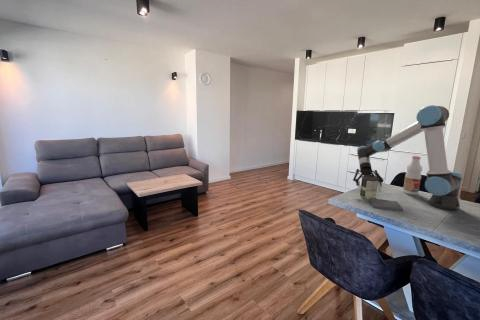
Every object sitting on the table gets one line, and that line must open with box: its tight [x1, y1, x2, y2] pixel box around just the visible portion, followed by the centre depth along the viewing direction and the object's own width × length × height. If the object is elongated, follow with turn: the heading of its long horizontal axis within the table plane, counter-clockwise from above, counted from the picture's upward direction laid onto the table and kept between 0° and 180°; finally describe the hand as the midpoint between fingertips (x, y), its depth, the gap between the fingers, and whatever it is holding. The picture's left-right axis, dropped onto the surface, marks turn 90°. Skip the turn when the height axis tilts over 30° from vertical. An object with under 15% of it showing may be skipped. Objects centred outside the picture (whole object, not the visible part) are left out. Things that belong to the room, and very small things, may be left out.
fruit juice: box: [402, 155, 423, 196], centre depth 173 cm, size 9×9×28 cm
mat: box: [368, 198, 404, 212], centre depth 150 cm, size 16×14×2 cm
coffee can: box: [359, 175, 379, 200], centre depth 164 cm, size 10×10×14 cm
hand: (369, 190), depth 162 cm, fingers open, 12 cm apart
